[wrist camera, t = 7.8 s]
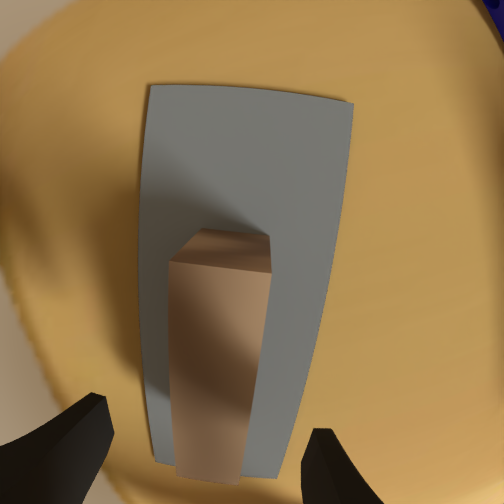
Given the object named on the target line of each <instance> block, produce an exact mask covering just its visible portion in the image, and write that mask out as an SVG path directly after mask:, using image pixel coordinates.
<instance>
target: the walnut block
mask: <svg viewBox="0 0 504 504" xmlns="http://www.w3.org/2000/svg"><path fill="white" fill-rule="evenodd" d="M271 276H272V267H271V250H270V236H267V235H258V234H250V233H241V232H233V231H224V230H215V229H206V228H201V229H200V230H199V231H198V232H197V233H196V234H195V235H194V236H193V237H192V238H191V239H190V240H189V241H188V242H187V243H186V244H185V245H184V246H183V247H182V248H181V249H180V250H179V251H178V252H177V253H176V254H175V255H174V256H173V257H172V258H171V259H170V260H169V278H168V352H169V382H170V402H171V418H172V432H173V444H174V455H175V465H176V474H177V476H179V477H184V478H189V479H195V480H201V481H207V482H214V483H221V484H230V485H239V480H240V474H241V468H242V463H243V457H244V451H245V445H246V439H247V433H248V427H249V421H250V415H251V409H252V403H253V397H254V391H255V384H256V378H257V371H258V365H259V359H260V352H261V345H262V339H263V332H264V325H265V318H266V311H267V305H268V298H269V290H270V283H271Z"/></svg>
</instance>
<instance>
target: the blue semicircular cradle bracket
mask: <svg viewBox="0 0 504 504" xmlns="http://www.w3.org/2000/svg"><path fill="white" fill-rule="evenodd" d="M482 1H483V2H484V4H485V6H486V8H487V10H488V11H489V13H490V15H491V17H492V19H493V21H494V23H495V25H496V27H497V29H498V31H499V33H500V35H501V37H502V39H503V41H504V0H482Z"/></svg>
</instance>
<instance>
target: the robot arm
mask: <svg viewBox="0 0 504 504" xmlns="http://www.w3.org/2000/svg"><path fill="white" fill-rule="evenodd" d="M113 436H114V429H113V425H112V421H111V417H110V413H109V409H108V404H107V400H106V396H102V395H99V394H96V393H92V392H91V393H89V394H88V395H86V396H85V397H83V398H82V399H81V400H79V401H78V402H76V403H75V404H73V405H72V406H71V407H69V408H68V409H66V410H65V411H63V412H62V413H61V414H59V415H58V416H56V417H55V418H53V419H52V420H50V421H48V422H47V423H45V424H44V425H42V426H40V427H39V428H37V429H35V430H34V431H32V432H30V433H28V434H26V435H24V436H22V437H20V438H19V439H16V440H14V441H12V442H10V443H7V444H5V445H2V446H0V504H82V503H83V501H84V498H85V496H86V494H87V492H88V490H89V489H90V487H91V485H92V483H93V481H94V479H95V477H96V475H97V473H98V471H99V469H100V467H101V466H102V464H103V462H104V460H105V458H106V456H107V453H108V451H109V448H110V445H111V442H112V439H113ZM301 490H302V498H303V504H384V503H383V502H382V501H381V500H380V498H379V497H378V496H377V495H376V494H375V493H374V491H373V490H372V489H371V488H370V486H369V485H368V484H367V483H366V481H365V480H364V479H363V477H362V476H361V474H360V473H359V472H358V470H357V469H356V467H355V466H354V465H353V463H352V461H351V460H350V458H349V457H348V455H347V454H346V452H345V450H344V449H343V447H342V446H341V444H340V442H339V440H338V439H337V437H336V435H335V433H334V432H333V430H332V429H331V428H313V431H312V434H311V437H310V440H309V442H308V445H307V448H306V450H305V453H304V456H303V458H302V461H301Z"/></svg>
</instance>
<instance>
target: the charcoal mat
mask: <svg viewBox="0 0 504 504" xmlns="http://www.w3.org/2000/svg"><path fill="white" fill-rule="evenodd" d="M353 108H354V104H353V103H349V102H344V101H338V100H333V99H328V98H322V97H316V96H310V95H303V94H297V93H289V92H281V91H273V90H264V89H253V88H242V87H227V86H206V85H151V90H150V97H149V104H148V112H147V120H146V128H145V137H144V147H143V158H142V171H141V185H140V203H139V229H138V293H139V320H140V338H141V352H142V364H143V375H144V385H145V394H146V402H147V410H148V418H149V425H150V431H151V438H152V444H153V450H154V456H155V461H156V462H158V463H162V464H167V465H172V466H176V465H175V455H174V444H173V432H172V418H171V402H170V382H169V352H168V278H169V260H170V259H171V258H172V257H173V256H174V255H175V254H176V253H177V252H178V251H179V250H180V249H181V248H182V247H183V246H184V245H185V244H186V243H187V242H188V241H189V240H190V239H191V238H192V237H193V236H194V235H195V234H196V233H197V232H198V231H199V230H200V229H201V228H206V229H215V230H224V231H233V232H241V233H250V234H258V235H267V236H270V250H271V267H272V276H271V283H270V290H269V298H268V305H267V311H266V318H265V325H264V332H263V339H262V345H261V352H260V359H259V365H258V371H257V378H256V384H255V391H254V397H253V403H252V409H251V415H250V421H249V427H248V433H247V439H246V445H245V451H244V457H243V463H242V468H241V474H240V476H245V477H256V478H272V479H277V477H278V474H279V471H280V468H281V465H282V462H283V459H284V456H285V453H286V449H287V446H288V443H289V440H290V436H291V433H292V430H293V426H294V423H295V420H296V416H297V413H298V409H299V406H300V402H301V398H302V395H303V391H304V387H305V384H306V380H307V376H308V372H309V368H310V364H311V360H312V356H313V352H314V348H315V344H316V339H317V335H318V331H319V326H320V322H321V317H322V313H323V308H324V303H325V299H326V294H327V289H328V284H329V279H330V273H331V268H332V263H333V257H334V252H335V246H336V240H337V234H338V228H339V222H340V216H341V209H342V202H343V195H344V188H345V181H346V173H347V165H348V157H349V148H350V139H351V129H352V119H353Z"/></svg>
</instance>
